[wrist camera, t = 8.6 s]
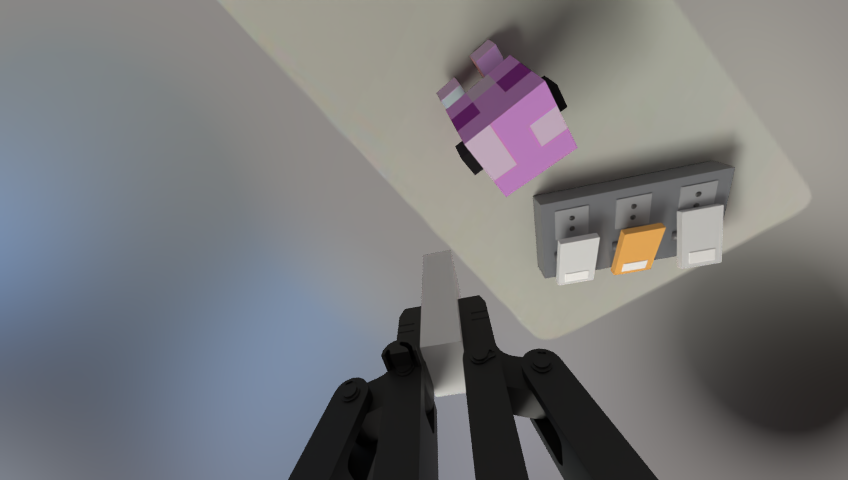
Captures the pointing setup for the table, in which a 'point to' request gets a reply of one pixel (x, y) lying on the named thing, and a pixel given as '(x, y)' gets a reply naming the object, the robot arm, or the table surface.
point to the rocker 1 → (577, 258)
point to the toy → (508, 120)
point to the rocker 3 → (699, 236)
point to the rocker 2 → (637, 248)
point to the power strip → (626, 209)
